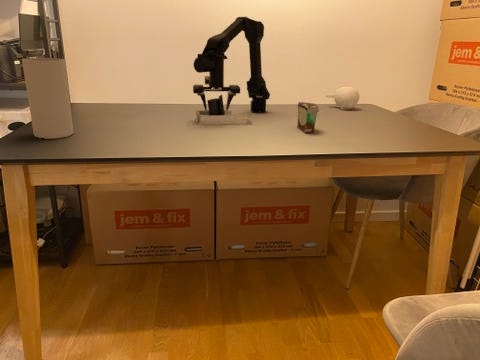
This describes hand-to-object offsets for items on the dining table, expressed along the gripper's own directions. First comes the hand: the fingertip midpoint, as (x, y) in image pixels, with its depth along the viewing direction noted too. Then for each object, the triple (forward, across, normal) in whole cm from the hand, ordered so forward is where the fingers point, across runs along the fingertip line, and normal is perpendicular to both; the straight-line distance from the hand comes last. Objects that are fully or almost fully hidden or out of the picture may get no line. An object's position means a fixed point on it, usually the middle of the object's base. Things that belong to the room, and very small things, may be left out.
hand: (216, 110), depth 163 cm
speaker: (+4, 0, 0) cm, 4 cm away
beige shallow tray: (+4, -3, 0) cm, 5 cm away
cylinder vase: (+5, +58, +21) cm, 62 cm away
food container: (+5, -34, +18) cm, 39 cm away
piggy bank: (+5, -68, -30) cm, 75 cm away
